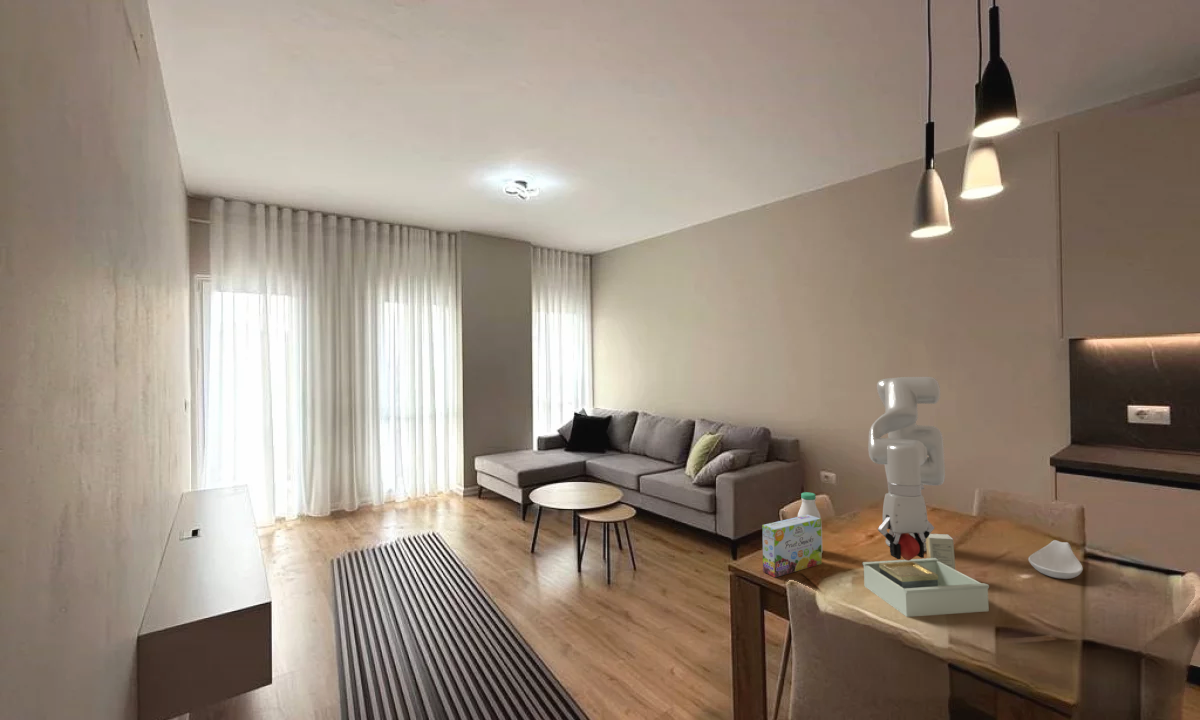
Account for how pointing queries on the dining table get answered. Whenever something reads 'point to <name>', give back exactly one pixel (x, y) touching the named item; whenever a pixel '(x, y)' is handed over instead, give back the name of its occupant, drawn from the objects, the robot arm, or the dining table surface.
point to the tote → (929, 591)
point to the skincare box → (941, 548)
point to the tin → (909, 574)
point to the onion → (908, 546)
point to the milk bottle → (809, 508)
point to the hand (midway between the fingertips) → (907, 555)
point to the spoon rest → (1056, 561)
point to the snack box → (791, 545)
